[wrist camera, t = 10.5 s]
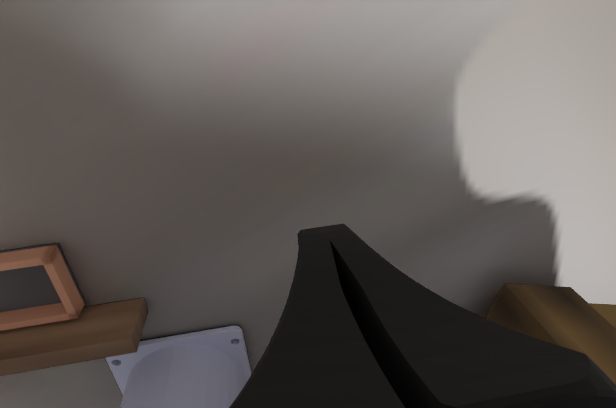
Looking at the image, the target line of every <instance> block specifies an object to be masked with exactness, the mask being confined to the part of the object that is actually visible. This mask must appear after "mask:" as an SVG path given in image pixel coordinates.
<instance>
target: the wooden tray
mask: <svg viewBox="0 0 616 408" xmlns="http://www.w3.org/2000/svg"><path fill="white" fill-rule="evenodd" d="M147 312H148V310H147V307H146V304H145V301H144V299H143V298H138V299H131V300H125V301H119V302H113V303H107V304H100V305H94V306H88V307H83V309H82V311H81V314H80V316H79V318H76V319H70V320H64V321H58V322H52V323H46V324H40V325H33V326H27V327H21V328H15V329H9V330H3V331H0V376H3V375H9V374H14V373H20V372H26V371H32V370H37V369H43V368H49V367H55V366H61V365H66V364H72V363H78V362H84V361H89V360H95V359H101V358H107V357H112V356H118V355H124V354H130V353H136V352H137V350H138V346H139V343H140V339H141V335H142V331H143V327H144V324H145V320H146V316H147Z"/></svg>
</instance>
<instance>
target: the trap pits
mask: <svg viewBox="0 0 616 408" xmlns="http://www.w3.org/2000/svg"><path fill="white" fill-rule="evenodd" d="M85 303H86V302H85V300H84V298H83V296H82V293H81V291H80V289H79V287H78V285H77V282H76V280H75V278H74V276H73V274H72V272H71V269H70V267H69V265H68V263H67V261H66V259H65V256H64V254H63V252H62V250H61V248H60V245H59V243H53V244H46V245H39V246H32V247H25V248H18V249H11V250H4V251H0V331H3V330H9V329H15V328H21V327H27V326H33V325H40V324H46V323H52V322H58V321H64V320H70V319H76V318H79V316H80V314H81V311H82V309H83V307H84V305H85Z"/></svg>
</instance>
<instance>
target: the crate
mask: <svg viewBox="0 0 616 408" xmlns="http://www.w3.org/2000/svg"><path fill="white" fill-rule="evenodd" d="M485 319H488V320H490V321H492V322H495V323H497V324H500V325H502V326H505V327H507V328H510V329H512V330H515V331H518V332H520V333H523V334H526V335H528V336H531V337H534V338H537V339H540V340H543V341H547V342H550V343H553V344H556V345H559V346H562V347H565V348H569V349H572V350H575V351H578V352H581V353H584V354H586V355H587V356H588V357H589V358H590V359H591V360H592V361H593V362H594V363H595V364H596V365H597V366H598V367H599V368H600V369H601V370H602V371H603V372H604V373H605V374H606V375H607V376H608V377H609V378H610V379H611V380H612V381H613V382H614V383H615V385H616V305H609V304H588V303H587V302H586V301H585V300H584V299H583V298H582V297H581V296H579V295H578V294H577V293H576V292H575V291H574V290H573V289H572V288H571V287H556V286H539V285H522V284H506V283H504V285H503V287H502V289H501V290H500V291H499V293H498V295H497V297H496V299H495V301H494V303H493V305H492V307H491V309H490V311H489V313H488V315H487V317H486V318H485Z"/></svg>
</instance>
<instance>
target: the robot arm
mask: <svg viewBox="0 0 616 408" xmlns="http://www.w3.org/2000/svg"><path fill="white" fill-rule="evenodd" d="M297 235H298V245H299V251H298V260H297V265H296V270H295V275H294V279H293V283H292V286H291V290H290V293H289V296H288V300H287V303H286V305H285V308H284V311H283V313H282V316H281V318H280V321H279V323H278V325H277V328H276V330H275V332H274V334H273V336H272V338H271V340H270V342H269V345H268V346H267V348H266V350H265V352H264V354H263V356H262V358H261V359H260V361H259V363H258V364H257V366H256V368H255V369H254V371H253V373H251V369H250V364H249V360H248V355H247V350H246V346H245V341H244V337H243V332H242V329H241V328H240V327H239V326H228V327H222V328H216V329H211V330H205V331H199V332H193V333H187V334H181V335H175V336H170V337H164V338H158V339H152V340H146V341H140V343H139V346H138V350H137V352H136V353H130V354H124V355H118V356H112V357H107V358H105V359H106V361H107V363H108V365H109V367H110V369H111V371H112V373H113V376H114V378H115V380H116V382H117V384H118V386H119V388H120V391H121V393H122V395H123V398H122V402H121V406H120V408H616V385H615V383H614V382H613V381H612V380H611V379H610V378H609V377H608V376H607V375H606V374H605V373H604V372H603V371H602V370H601V369H600V368H599V367H598V366H597V365H596V364H595V363H594V362H593V361H592V360H591V359H590V358H589V357H588V356H587V355H586V354H584V353H581V352H578V351H575V350H572V349H569V348H565V347H562V346H559V345H556V344H553V343H550V342H547V341H543V340H540V339H537V338H534V337H531V336H528V335H526V334H523V333H520V332H518V331H515V330H512V329H510V328H507V327H505V326H502V325H500V324H497V323H495V322H492V321H490V320H488V319H485V318H483V317H481V316H479V315H477V314H474V313H472V312H470V311H468V310H466V309H464V308H462V307H460V306H458V305H456V304H454V303H452V302H450V301H448V300H446V299H444V298H442V297H441V296H439V295H437V294H436V293H434V292H432V291H430V290H429V289H427V288H425V287H423V286H422V285H420V284H419V283H417V282H416V281H414V280H412V279H411V278H410V277H408V276H407V275H405V274H404V273H402V272H401V271H399V270H398V269H397V268H395V267H394V266H393V265H391V264H390V263H389V262H388V261H386V260H385V259H384V258H383V257H381V256H380V255H379V254H378V253H376V252H375V251H374V250H373V249H372V248H371V247H369V246H368V245H367V244H366V243H365V242H364V241H363V240H361V239H360V238H359V237H358V236H357V235H356V234H355V233H354V232H353V231H352V230H351V229H349V228H348V227H347V226H346V225H345V224H338V225H332V226H325V227H318V228H312V229H305V230H301V231H300V232H299V233H298V234H297ZM233 339H237V340H233Z"/></svg>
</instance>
